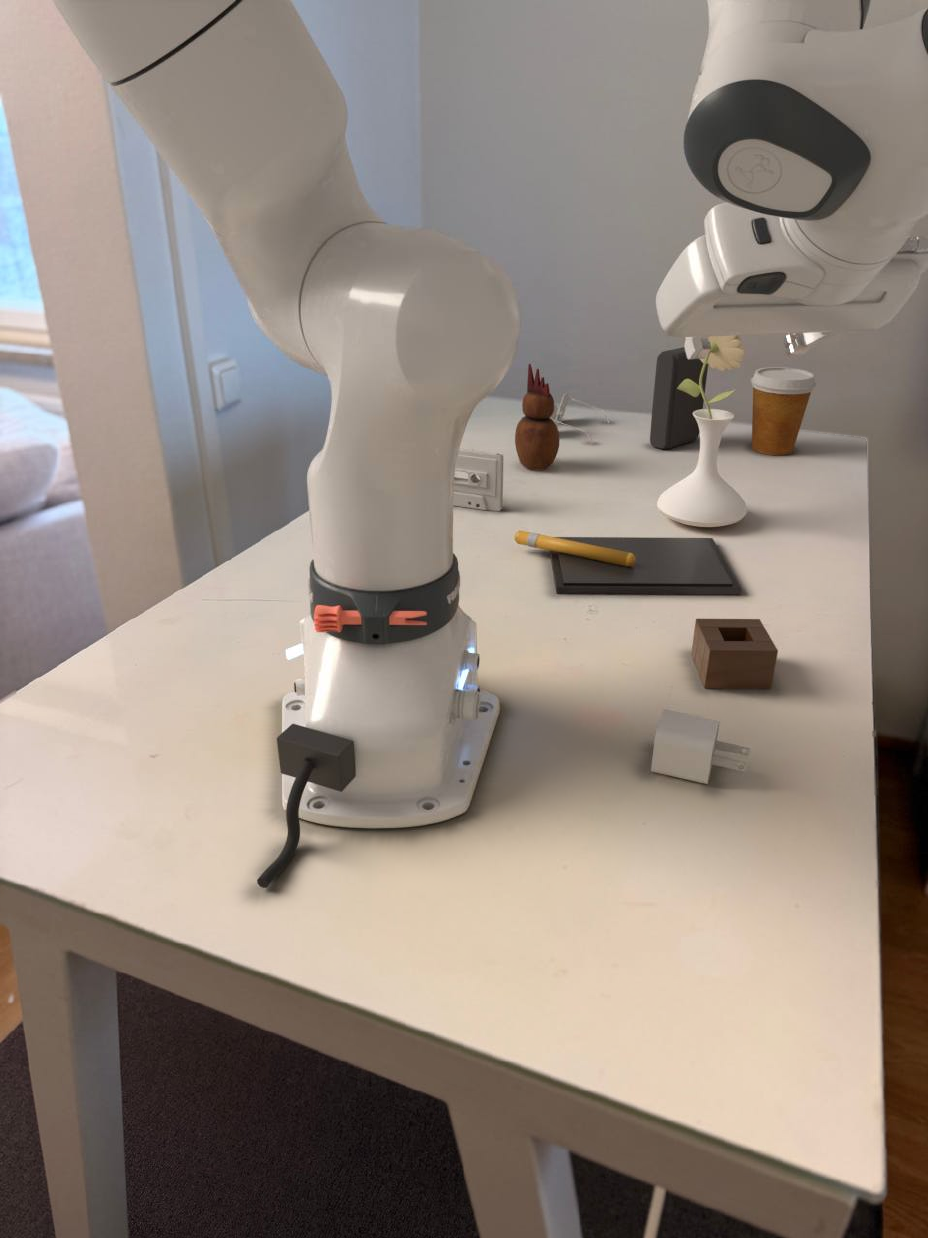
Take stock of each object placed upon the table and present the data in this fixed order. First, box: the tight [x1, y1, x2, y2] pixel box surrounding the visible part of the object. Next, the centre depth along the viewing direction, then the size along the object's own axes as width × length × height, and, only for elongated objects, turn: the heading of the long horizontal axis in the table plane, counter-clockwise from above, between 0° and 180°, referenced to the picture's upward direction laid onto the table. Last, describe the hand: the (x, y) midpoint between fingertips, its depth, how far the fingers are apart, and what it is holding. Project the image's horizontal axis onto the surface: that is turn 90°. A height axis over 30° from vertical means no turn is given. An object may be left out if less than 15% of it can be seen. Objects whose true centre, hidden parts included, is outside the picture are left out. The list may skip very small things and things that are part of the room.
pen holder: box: [690, 618, 779, 690], centre depth 83 cm, size 6×6×4 cm
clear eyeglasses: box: [550, 392, 611, 444], centre depth 152 cm, size 14×8×5 cm, turn 160°
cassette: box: [453, 448, 504, 512], centre depth 121 cm, size 12×2×8 cm, turn 68°
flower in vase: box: [656, 335, 748, 528], centre depth 113 cm, size 13×11×25 cm
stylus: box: [514, 530, 636, 567], centre depth 105 cm, size 2×2×15 cm
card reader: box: [649, 346, 709, 450], centre depth 143 cm, size 9×4×15 cm, turn 130°
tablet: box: [548, 536, 742, 596], centre depth 104 cm, size 14×20×1 cm
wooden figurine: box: [514, 363, 561, 471], centre depth 133 cm, size 7×6×15 cm
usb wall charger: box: [650, 708, 751, 785], centre depth 70 cm, size 4×7×4 cm, turn 69°
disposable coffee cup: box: [750, 366, 817, 456], centre depth 141 cm, size 10×10×12 cm
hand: (743, 350), depth 79 cm, fingers open, 8 cm apart
